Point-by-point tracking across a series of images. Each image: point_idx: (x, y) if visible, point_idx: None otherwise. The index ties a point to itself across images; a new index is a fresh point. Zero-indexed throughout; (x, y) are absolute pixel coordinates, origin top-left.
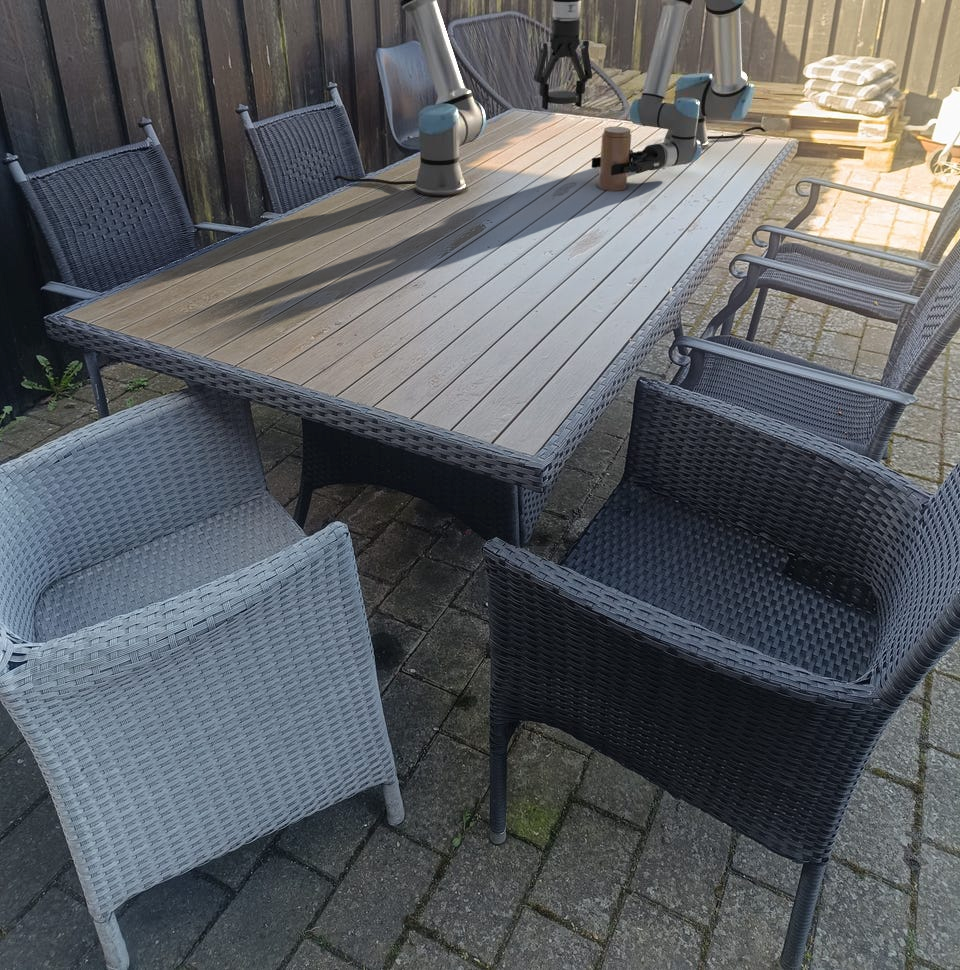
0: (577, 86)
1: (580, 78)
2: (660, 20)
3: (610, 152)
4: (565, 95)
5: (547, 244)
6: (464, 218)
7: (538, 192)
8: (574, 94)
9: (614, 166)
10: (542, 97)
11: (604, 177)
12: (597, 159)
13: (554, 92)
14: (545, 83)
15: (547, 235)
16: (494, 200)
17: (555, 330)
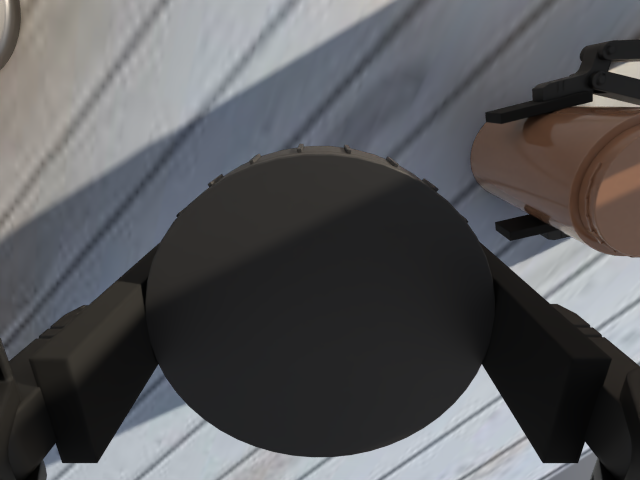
0: (525, 354)
1: (624, 431)
2: None
3: (541, 217)
4: (326, 385)
5: (177, 465)
6: (13, 290)
7: (266, 136)
8: (426, 375)
9: (514, 238)
10: (126, 276)
11: (488, 181)
12: (519, 118)
13: (272, 230)
14: (40, 470)
15: (191, 429)
16: (112, 172)
17: None
